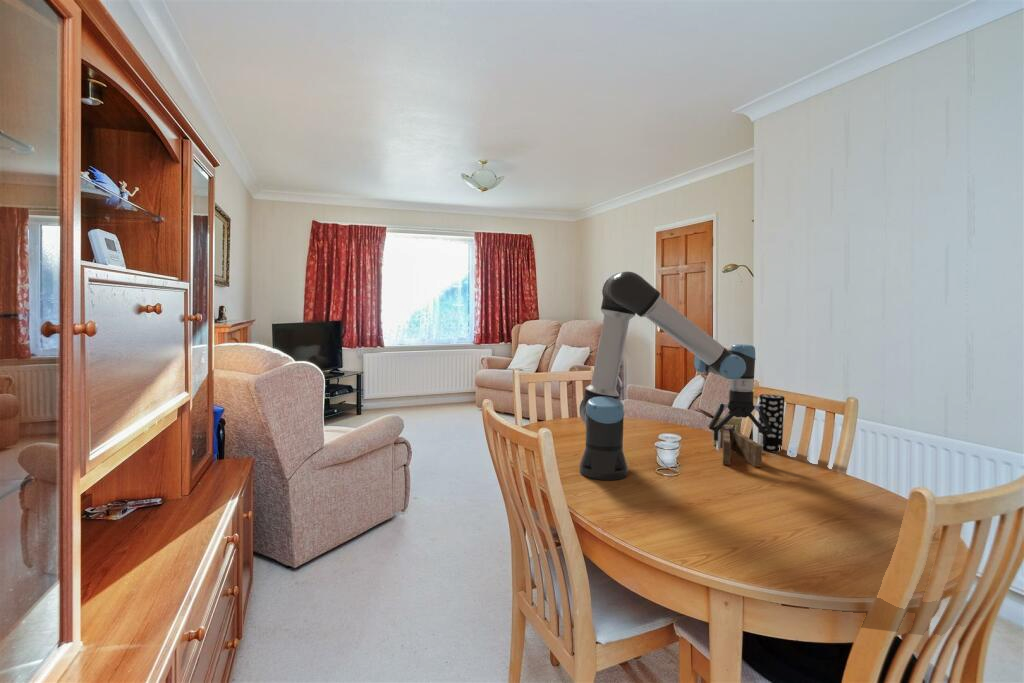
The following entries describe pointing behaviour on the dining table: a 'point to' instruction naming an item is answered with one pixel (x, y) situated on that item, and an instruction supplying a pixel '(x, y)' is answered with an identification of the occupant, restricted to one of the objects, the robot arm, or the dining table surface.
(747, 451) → the jaw
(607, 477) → the robot arm
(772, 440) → the white-spotted black cylinder
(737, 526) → the dining table surface
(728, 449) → the jaw
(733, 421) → the lock cuff
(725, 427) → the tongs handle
